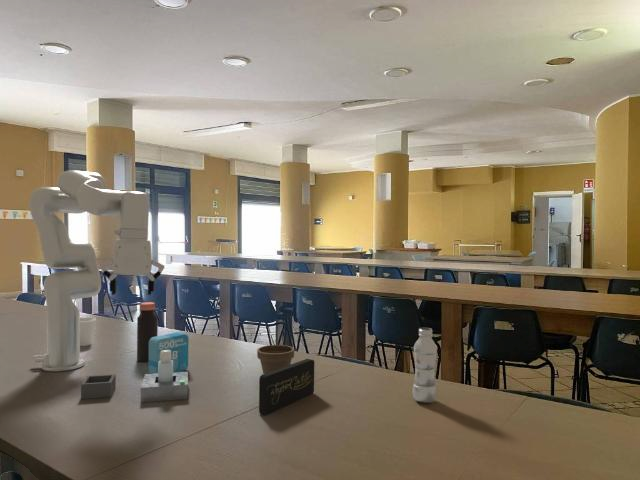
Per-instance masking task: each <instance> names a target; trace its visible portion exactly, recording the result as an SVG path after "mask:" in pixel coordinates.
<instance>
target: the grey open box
mask: <svg viewBox="0 0 640 480" xmlns="http://www.w3.org/2000/svg"><path fill="white" fill-rule="evenodd" d="M116 375H117V374H116V373H115V374H113V373H112V374H98V375H86V377H85V378H84V379H83V380H82V382H81V383H80V400H87V399H88V400H89V399H101V398H112V396H113V395H114V393H115V390H116V388H117V387H116V382H117V381H116V379H117V378H116Z"/></svg>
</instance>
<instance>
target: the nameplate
mask: <svg viewBox="0 0 640 480" xmlns="http://www.w3.org/2000/svg"><path fill="white" fill-rule="evenodd" d="M258 382H259V383H258V384H259V385H258V388H259V390H258V395H259V396H258V408H259V409H258V413H259V414H260V415H264V416H268V415H270V414H272V413H274V412H277V411H279V410H281V409H283V408H285V407H287V406H290V405H292V404H293V403H297V402H298V401H301V400H302V399H305V398H307V397H310V396H311V394H312V395H313V394H314V393H315V360H314V359H311V358H306V359H303V360H299V361H296V362H294V363H292V364H290V365H288V366H285V367H282V368H279V369H277V370H274V371H271V372H268V373H265V374H261V375H260V376H259V381H258Z"/></svg>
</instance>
